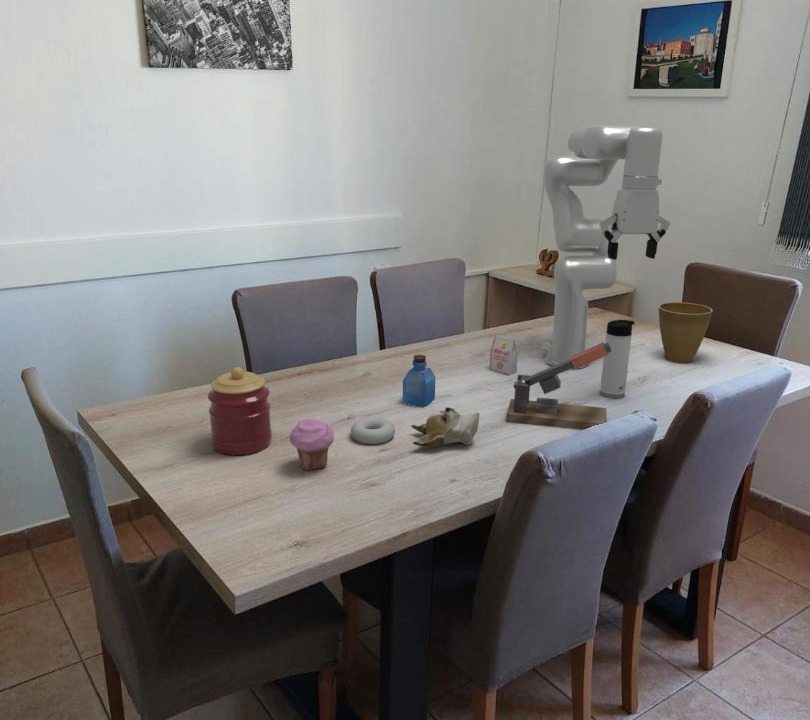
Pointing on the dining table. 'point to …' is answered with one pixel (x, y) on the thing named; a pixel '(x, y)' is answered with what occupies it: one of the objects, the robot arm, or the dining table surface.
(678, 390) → the dining table surface
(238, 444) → the canister
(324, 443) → the cupcake
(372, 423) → the donut
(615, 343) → the travel mug
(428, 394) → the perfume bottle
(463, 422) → the ceramic sculpture
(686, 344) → the plant pot
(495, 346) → the white paper bag
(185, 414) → the dining table surface
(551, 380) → the lever
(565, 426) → the nutcracker base
